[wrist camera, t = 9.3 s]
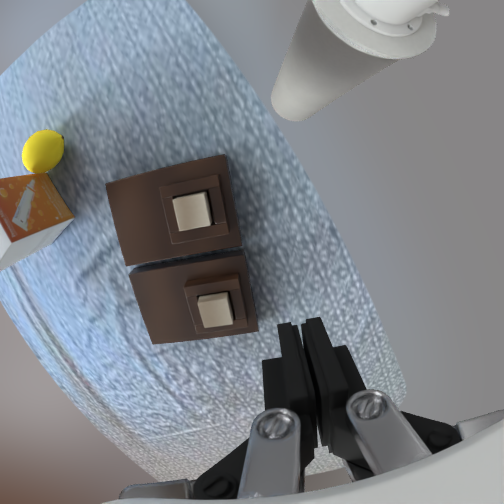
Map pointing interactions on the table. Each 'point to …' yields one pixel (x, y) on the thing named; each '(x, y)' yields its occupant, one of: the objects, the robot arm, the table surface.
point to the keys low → (173, 211)
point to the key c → (192, 211)
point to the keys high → (193, 296)
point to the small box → (29, 216)
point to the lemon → (43, 151)
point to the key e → (215, 309)
